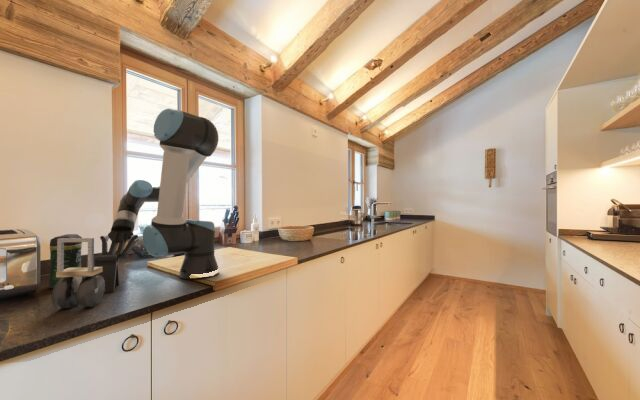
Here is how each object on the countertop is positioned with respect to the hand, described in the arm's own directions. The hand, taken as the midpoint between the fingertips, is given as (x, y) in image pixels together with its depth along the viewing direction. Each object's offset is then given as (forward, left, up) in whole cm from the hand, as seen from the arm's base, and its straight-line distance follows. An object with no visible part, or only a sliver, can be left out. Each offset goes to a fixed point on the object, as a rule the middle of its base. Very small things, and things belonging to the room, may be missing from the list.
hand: (109, 273), depth 99 cm
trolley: (-2, +19, -5) cm, 20 cm away
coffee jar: (+16, -4, -5) cm, 17 cm away
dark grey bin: (-1, +4, -5) cm, 6 cm away
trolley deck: (-2, +19, +5) cm, 20 cm away
